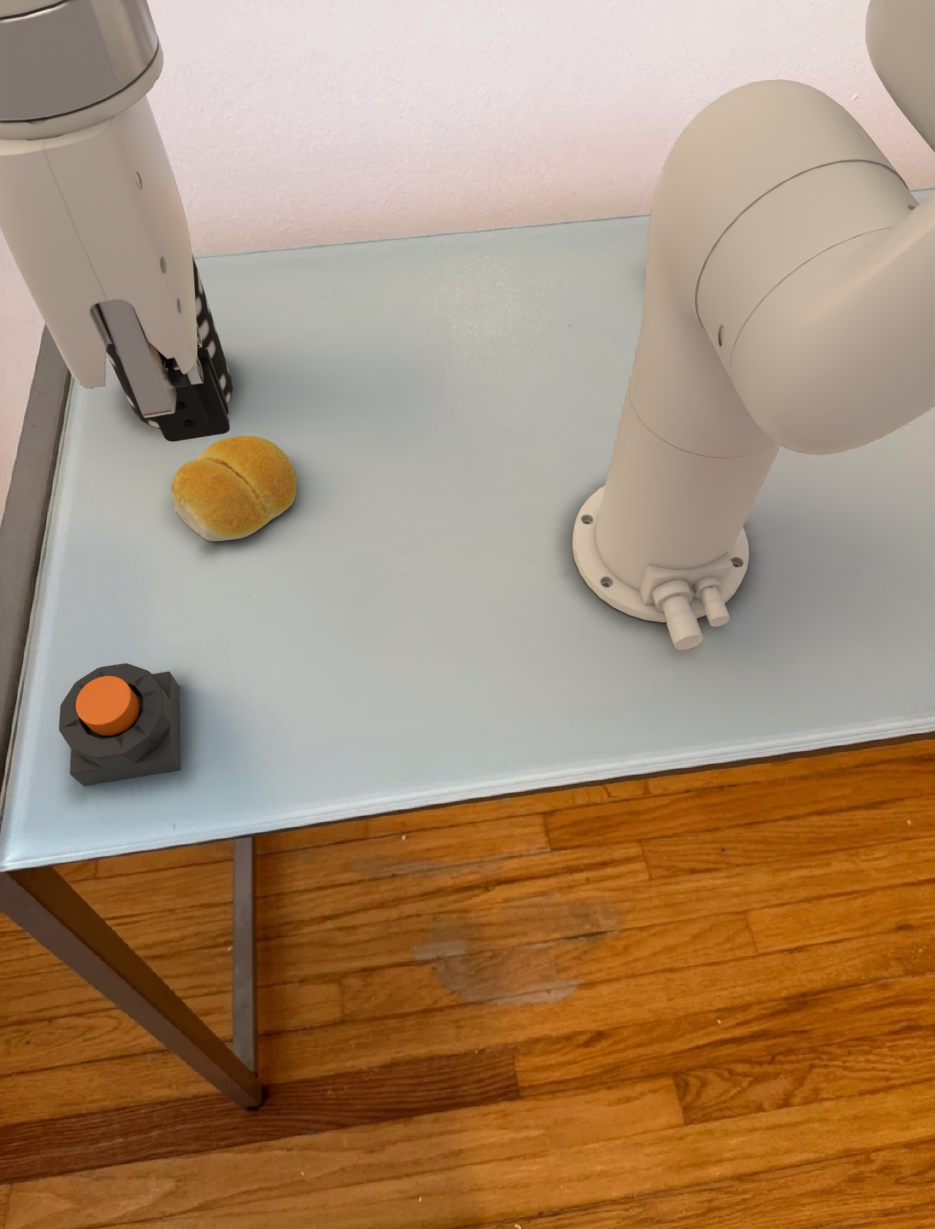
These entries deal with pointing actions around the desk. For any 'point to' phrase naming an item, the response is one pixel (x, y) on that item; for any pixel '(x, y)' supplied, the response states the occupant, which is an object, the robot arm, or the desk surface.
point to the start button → (107, 705)
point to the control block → (135, 749)
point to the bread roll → (234, 488)
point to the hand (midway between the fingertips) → (198, 425)
